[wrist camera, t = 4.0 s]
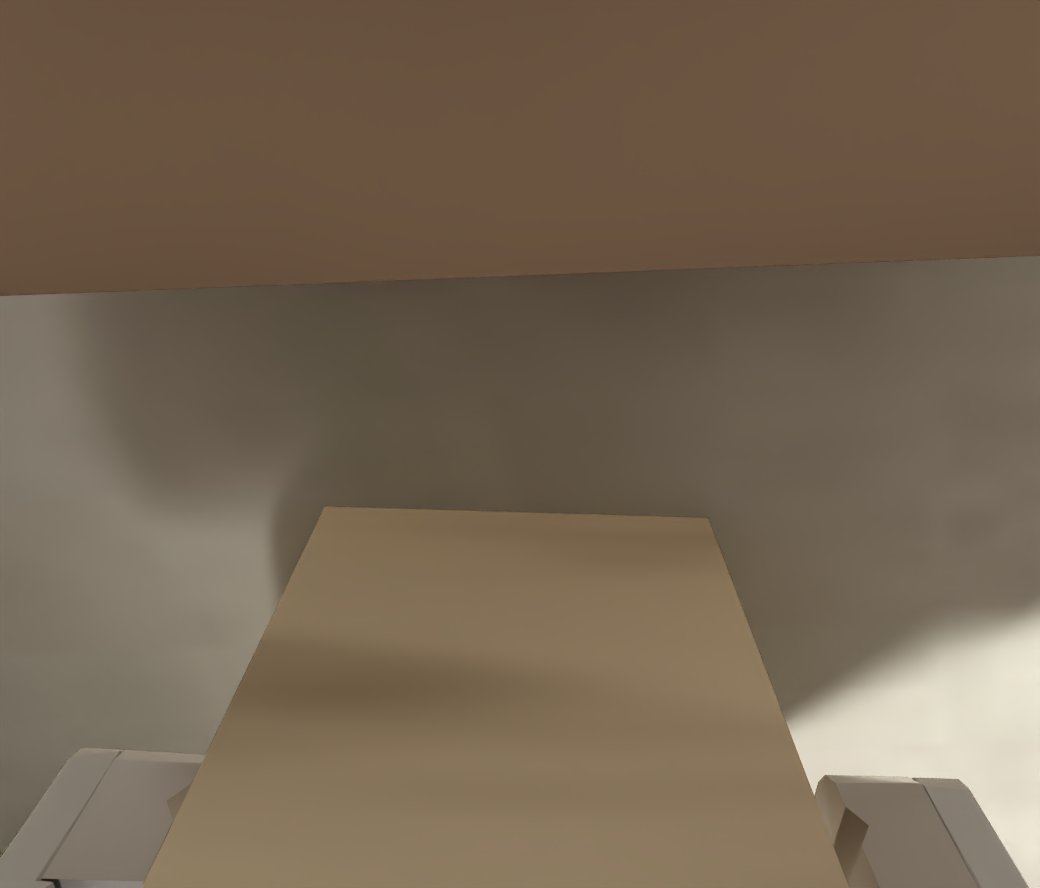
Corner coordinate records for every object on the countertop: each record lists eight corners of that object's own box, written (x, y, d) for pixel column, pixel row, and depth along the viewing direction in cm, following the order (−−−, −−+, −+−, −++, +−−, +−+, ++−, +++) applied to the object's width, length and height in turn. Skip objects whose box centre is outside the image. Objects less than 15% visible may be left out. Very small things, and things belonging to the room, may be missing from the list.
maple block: (666, 786, 12) (768, 1343, 7) (352, 776, 12) (210, 1323, 7) (707, 515, 10) (899, 1019, 5) (325, 504, 10) (90, 992, 5)
